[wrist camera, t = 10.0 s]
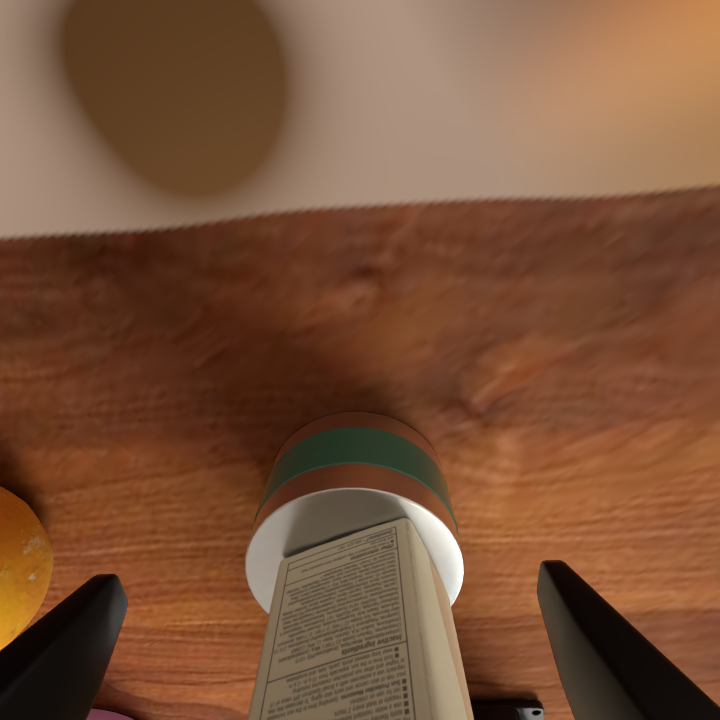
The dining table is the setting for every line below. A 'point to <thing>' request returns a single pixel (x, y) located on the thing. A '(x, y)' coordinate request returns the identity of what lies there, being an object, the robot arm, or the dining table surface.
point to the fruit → (21, 565)
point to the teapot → (105, 715)
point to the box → (361, 635)
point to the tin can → (351, 496)
